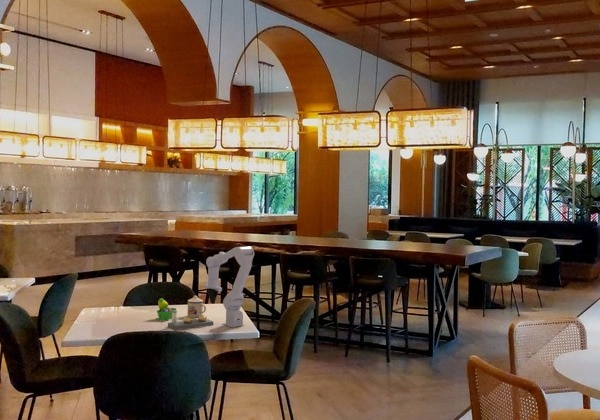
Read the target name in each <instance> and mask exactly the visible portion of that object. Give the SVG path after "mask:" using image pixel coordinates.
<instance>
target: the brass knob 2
mask: <svg viewBox="0 0 600 420" xmlns="http://www.w3.org/2000/svg"><path fill="white" fill-rule="evenodd" d="M207 318H208V317H207V315H203V316H198V317H197V319H198V321H200V322H204V321H206V320H208V319H207Z"/></svg>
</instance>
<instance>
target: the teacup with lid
mask: <svg viewBox="0 0 600 420" xmlns="http://www.w3.org/2000/svg"><path fill="white" fill-rule="evenodd" d="M205 312H207V306H206V305H205V304H204V299H201V298H199V297H198V296H197V295H193V297H192V298H190V299H188V300H187V316H186V317H191V318H192V319H194V318H196V319H198V316H204V313H205Z"/></svg>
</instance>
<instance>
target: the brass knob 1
mask: <svg viewBox="0 0 600 420" xmlns="http://www.w3.org/2000/svg"><path fill="white" fill-rule="evenodd" d="M192 320H193V317H188V316H186V317H183V321H184V323H186V324H189V323H192Z"/></svg>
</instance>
